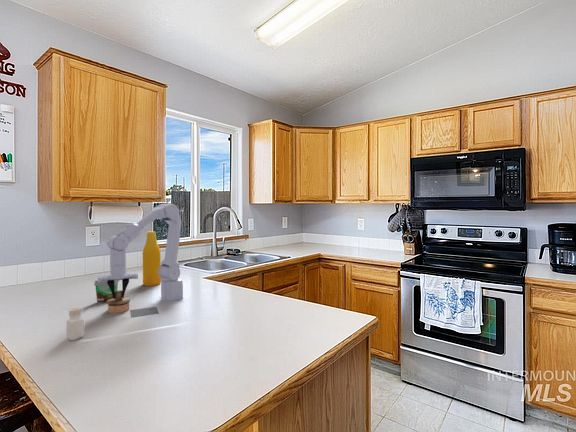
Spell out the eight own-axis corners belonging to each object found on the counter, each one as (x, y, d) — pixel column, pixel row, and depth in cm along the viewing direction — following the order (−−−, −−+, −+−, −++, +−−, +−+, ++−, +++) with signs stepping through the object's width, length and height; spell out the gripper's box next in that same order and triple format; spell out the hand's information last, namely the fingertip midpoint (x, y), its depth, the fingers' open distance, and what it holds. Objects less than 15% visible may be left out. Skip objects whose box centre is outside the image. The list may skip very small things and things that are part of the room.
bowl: (128, 307, 139) (128, 299, 139) (129, 312, 132) (129, 304, 132) (108, 309, 135) (108, 302, 135) (108, 315, 129) (108, 307, 129)
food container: (106, 304, 143) (106, 281, 143) (94, 303, 145) (94, 280, 144) (125, 296, 156) (125, 275, 155) (114, 295, 157) (114, 275, 156)
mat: (156, 307, 138) (156, 306, 138) (159, 314, 129) (159, 313, 129) (130, 311, 133) (130, 310, 133) (131, 319, 124) (131, 317, 124)
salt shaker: (72, 341, 104) (71, 312, 104) (65, 338, 106) (65, 309, 106) (85, 337, 107) (84, 308, 107) (79, 334, 109) (78, 306, 109)
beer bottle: (157, 281, 186) (156, 230, 185) (163, 284, 180) (162, 231, 179) (140, 283, 180) (139, 231, 179) (146, 287, 173) (145, 232, 172)
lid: (132, 298, 139) (132, 288, 139) (127, 303, 130) (127, 293, 130) (110, 299, 137) (110, 289, 137) (103, 305, 128) (103, 294, 128)
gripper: (136, 261, 140) (137, 293, 141) (97, 264, 133) (98, 297, 134) (138, 264, 134) (138, 297, 135) (97, 267, 127) (97, 302, 128)
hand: (118, 297), depth 134 cm, fingers closed on lid, 3 cm apart
